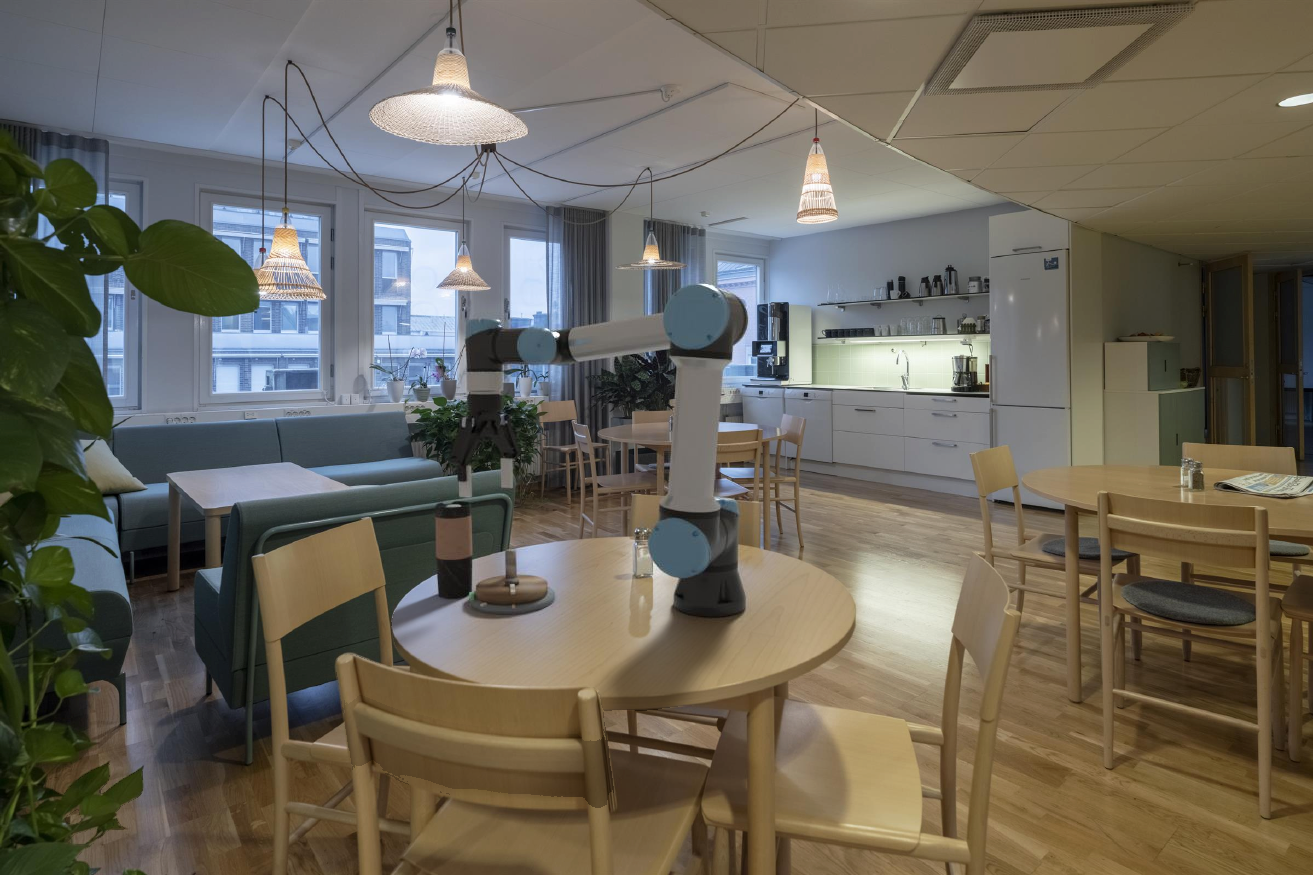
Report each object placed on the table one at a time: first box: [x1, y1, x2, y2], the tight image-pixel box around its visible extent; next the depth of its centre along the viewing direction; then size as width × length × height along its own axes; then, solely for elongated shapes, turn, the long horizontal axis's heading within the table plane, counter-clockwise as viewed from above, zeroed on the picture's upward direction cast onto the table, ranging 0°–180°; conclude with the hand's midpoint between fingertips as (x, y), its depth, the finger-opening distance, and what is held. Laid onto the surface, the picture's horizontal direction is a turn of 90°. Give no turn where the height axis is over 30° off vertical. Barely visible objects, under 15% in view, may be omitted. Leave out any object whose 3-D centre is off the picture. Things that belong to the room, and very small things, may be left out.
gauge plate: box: [468, 586, 556, 615], centre depth 157 cm, size 18×18×2 cm
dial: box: [475, 548, 549, 605], centre depth 156 cm, size 15×15×8 cm
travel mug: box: [434, 500, 473, 600], centre depth 160 cm, size 8×8×20 cm
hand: (487, 492), depth 157 cm, fingers open, 13 cm apart
